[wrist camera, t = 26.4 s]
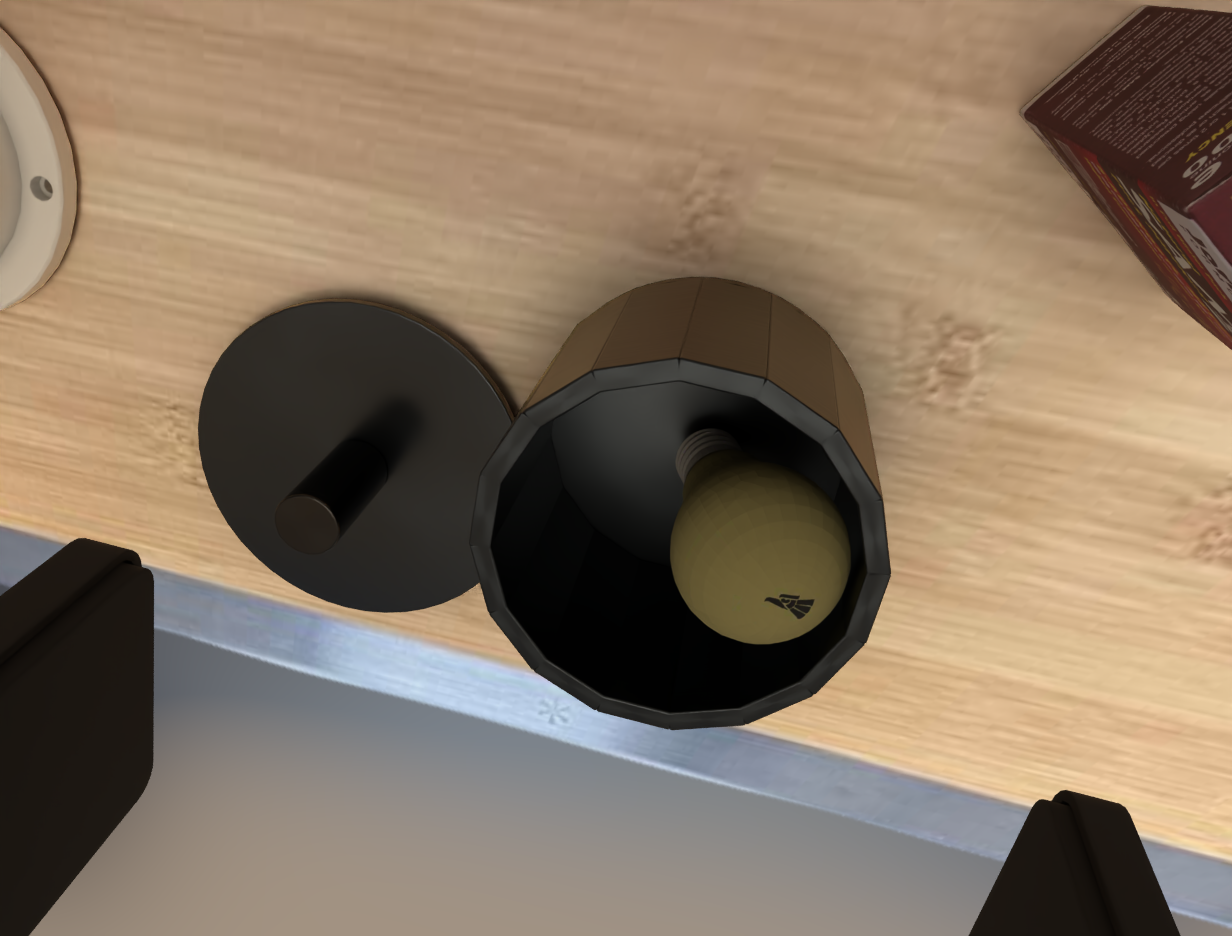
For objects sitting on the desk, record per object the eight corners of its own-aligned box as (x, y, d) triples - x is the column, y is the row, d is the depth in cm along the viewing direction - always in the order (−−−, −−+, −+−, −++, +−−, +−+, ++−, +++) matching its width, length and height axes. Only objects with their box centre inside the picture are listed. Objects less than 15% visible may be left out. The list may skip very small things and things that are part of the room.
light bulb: (786, 377, 38) (897, 523, 29) (765, 509, 41) (861, 677, 32) (636, 379, 37) (705, 529, 28) (624, 514, 40) (685, 688, 31)
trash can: (516, 537, 43) (448, 674, 34) (568, 241, 37) (503, 315, 29) (814, 611, 42) (820, 769, 33) (910, 321, 37) (947, 421, 28)
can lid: (207, 557, 45) (127, 634, 40) (215, 258, 40) (123, 300, 34) (505, 632, 45) (465, 721, 39) (557, 339, 39) (519, 396, 33)
